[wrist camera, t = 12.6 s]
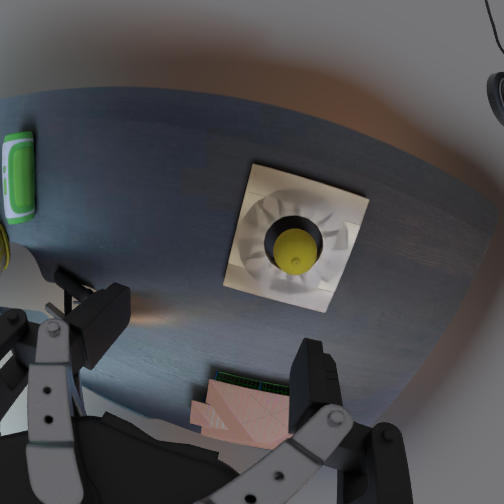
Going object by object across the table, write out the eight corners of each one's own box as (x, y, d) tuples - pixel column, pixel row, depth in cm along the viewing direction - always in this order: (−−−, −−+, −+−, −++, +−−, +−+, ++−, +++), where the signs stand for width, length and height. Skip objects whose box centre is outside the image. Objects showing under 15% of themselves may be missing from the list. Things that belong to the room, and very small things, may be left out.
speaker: (23, 135, 36) (-3, 137, 29) (41, 130, 36) (13, 131, 29) (24, 214, 43) (0, 224, 36) (42, 216, 42) (16, 226, 35)
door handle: (45, 328, 50) (91, 365, 50) (41, 261, 43) (93, 300, 43) (53, 322, 53) (99, 357, 53) (51, 256, 46) (103, 292, 46)
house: (199, 363, 48) (187, 393, 41) (359, 392, 47) (365, 423, 39) (193, 421, 57) (184, 446, 49) (319, 444, 55) (320, 469, 48)
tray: (254, 163, 35) (252, 163, 34) (366, 197, 34) (369, 199, 33) (224, 281, 41) (222, 285, 40) (324, 308, 41) (325, 313, 40)
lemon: (271, 255, 39) (267, 280, 32) (278, 218, 37) (276, 235, 30) (309, 263, 39) (313, 289, 31) (318, 226, 37) (325, 245, 29)
